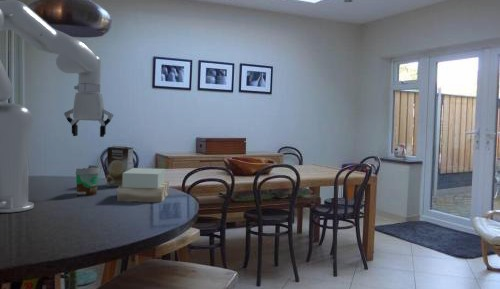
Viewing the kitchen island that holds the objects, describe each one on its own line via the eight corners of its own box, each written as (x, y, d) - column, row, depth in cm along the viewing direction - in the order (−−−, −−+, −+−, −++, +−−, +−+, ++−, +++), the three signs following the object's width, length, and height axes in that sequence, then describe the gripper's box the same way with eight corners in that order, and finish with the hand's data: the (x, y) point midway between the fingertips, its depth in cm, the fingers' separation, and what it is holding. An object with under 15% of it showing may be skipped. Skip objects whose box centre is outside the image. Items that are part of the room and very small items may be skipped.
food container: (92, 197, 155) (92, 169, 154) (75, 197, 155) (75, 168, 154) (104, 191, 167) (105, 165, 167) (88, 191, 167) (89, 165, 167)
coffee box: (105, 186, 180) (106, 147, 180) (112, 184, 187) (112, 146, 186) (127, 187, 180) (128, 148, 179) (133, 185, 186) (133, 147, 185)
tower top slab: (157, 188, 151) (158, 174, 151) (122, 187, 151) (122, 173, 150) (164, 182, 167) (165, 168, 167) (132, 181, 166) (133, 168, 166)
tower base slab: (161, 203, 151) (161, 189, 151) (117, 202, 150) (117, 187, 150) (168, 194, 168) (168, 181, 167) (128, 193, 167) (128, 180, 167)
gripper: (61, 87, 156) (60, 136, 157) (111, 89, 158) (110, 137, 159) (68, 89, 164) (67, 135, 165) (115, 91, 165) (115, 136, 166)
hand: (88, 136), depth 162 cm, fingers open, 9 cm apart
